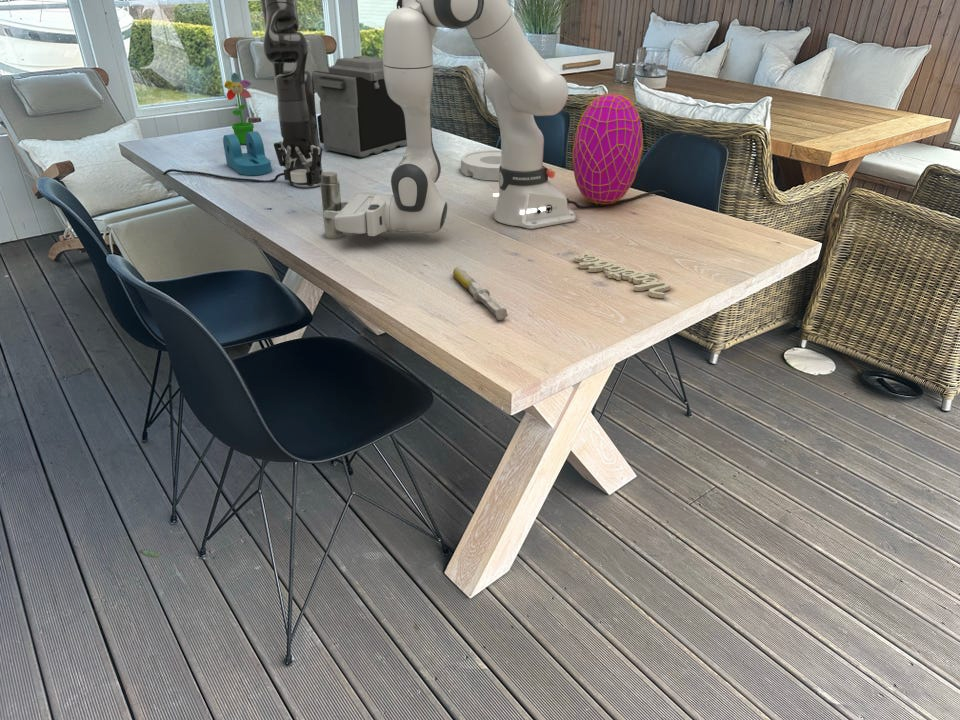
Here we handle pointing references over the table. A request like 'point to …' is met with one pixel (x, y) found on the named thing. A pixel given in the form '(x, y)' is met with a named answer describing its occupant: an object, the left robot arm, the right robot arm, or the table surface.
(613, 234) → the table surface
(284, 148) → the left robot arm
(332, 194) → the cylinder
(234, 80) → the potted flower
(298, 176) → the lid
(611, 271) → the decorative sign
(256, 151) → the camera mount
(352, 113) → the electronic device
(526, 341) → the table surface
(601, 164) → the decorative egg
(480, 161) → the ashtray
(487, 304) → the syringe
